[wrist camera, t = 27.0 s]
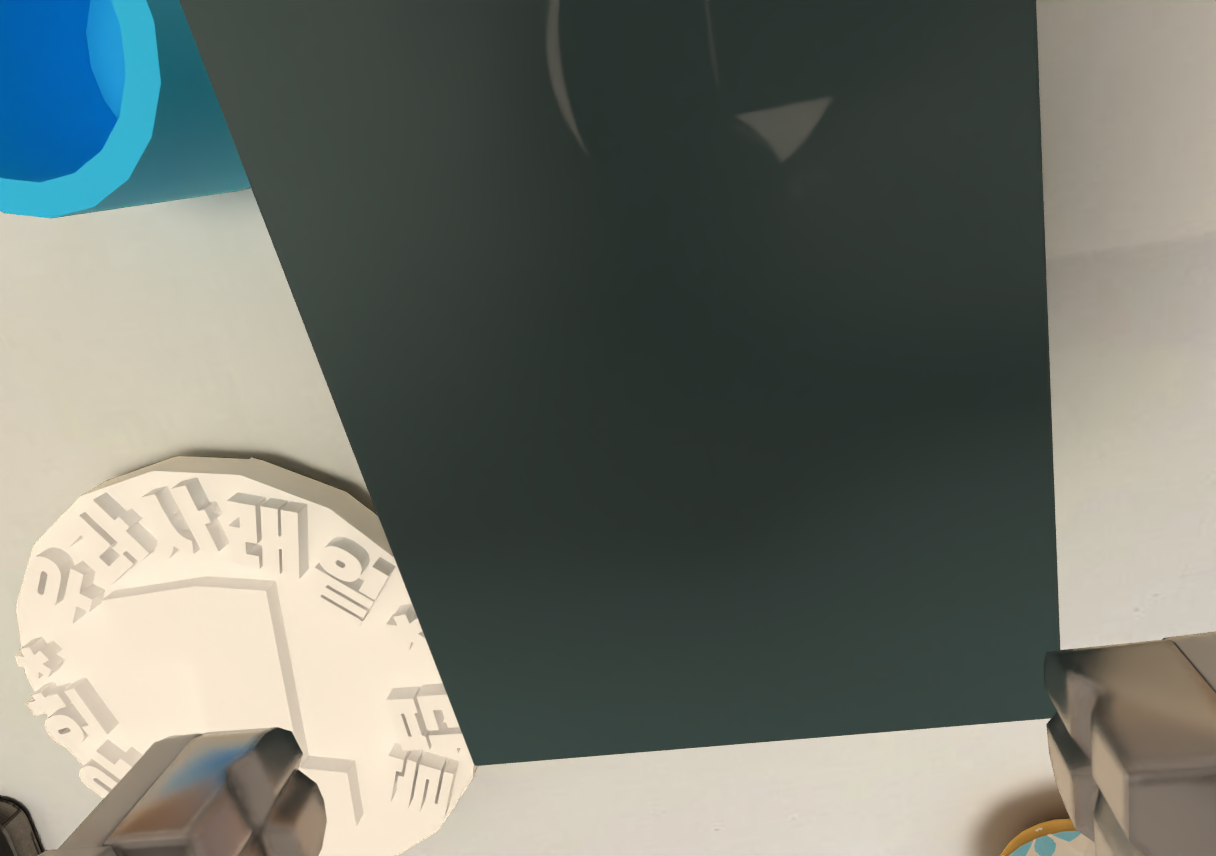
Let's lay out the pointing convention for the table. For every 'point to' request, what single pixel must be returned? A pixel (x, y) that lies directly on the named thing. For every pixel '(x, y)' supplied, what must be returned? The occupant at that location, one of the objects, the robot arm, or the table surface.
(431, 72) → the lid
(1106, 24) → the table surface
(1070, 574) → the table surface
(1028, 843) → the ornament
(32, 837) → the phone
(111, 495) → the giant coin
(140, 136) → the mug
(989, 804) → the table surface
